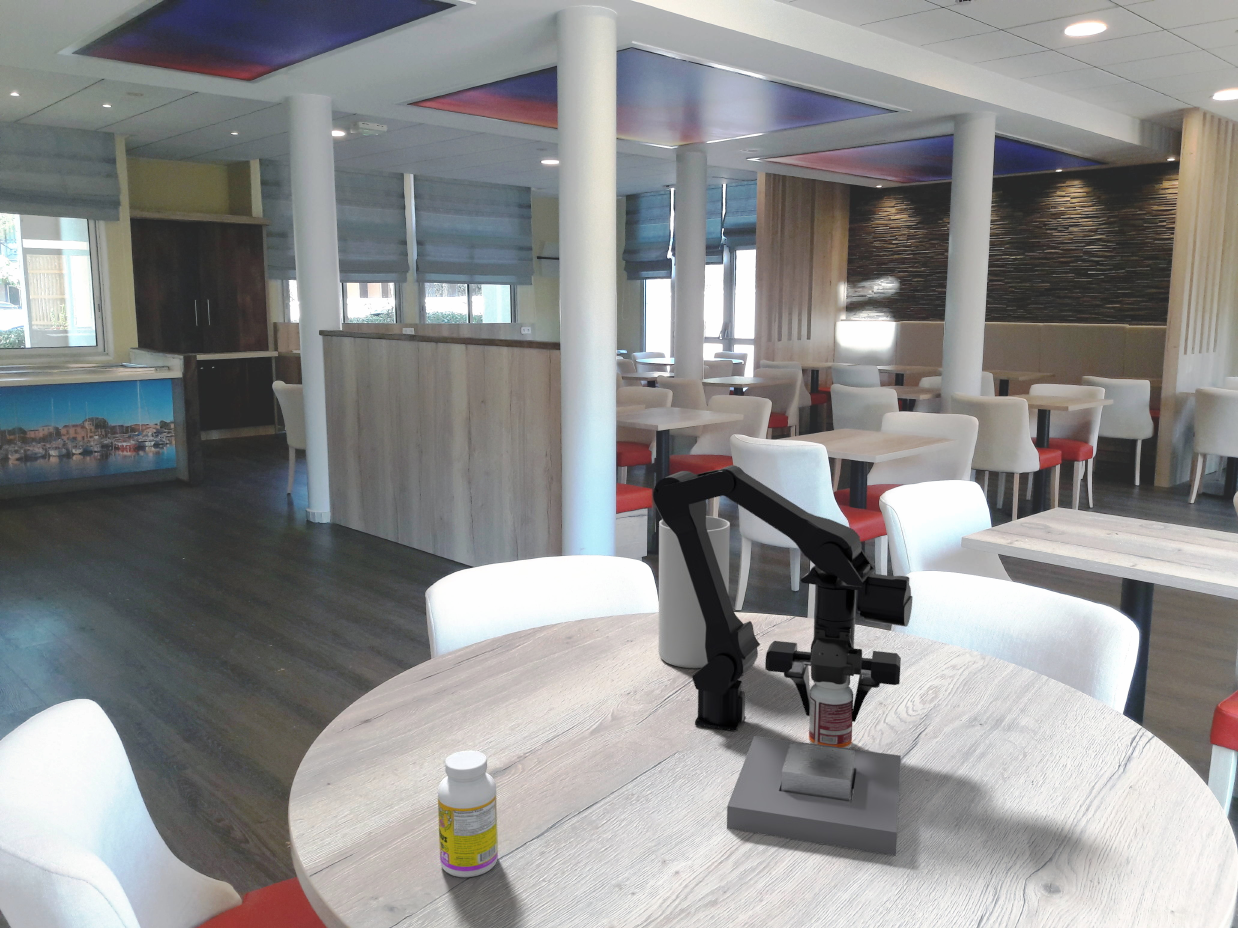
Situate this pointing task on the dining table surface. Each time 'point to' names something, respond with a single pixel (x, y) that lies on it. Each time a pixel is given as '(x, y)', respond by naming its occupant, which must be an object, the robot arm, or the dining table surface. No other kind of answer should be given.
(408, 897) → the dining table surface
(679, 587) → the cylinder vase
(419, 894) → the dining table surface
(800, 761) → the plunger pad
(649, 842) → the dining table surface
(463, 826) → the supplement bottle
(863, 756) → the plate
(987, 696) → the dining table surface
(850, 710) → the pill bottle
